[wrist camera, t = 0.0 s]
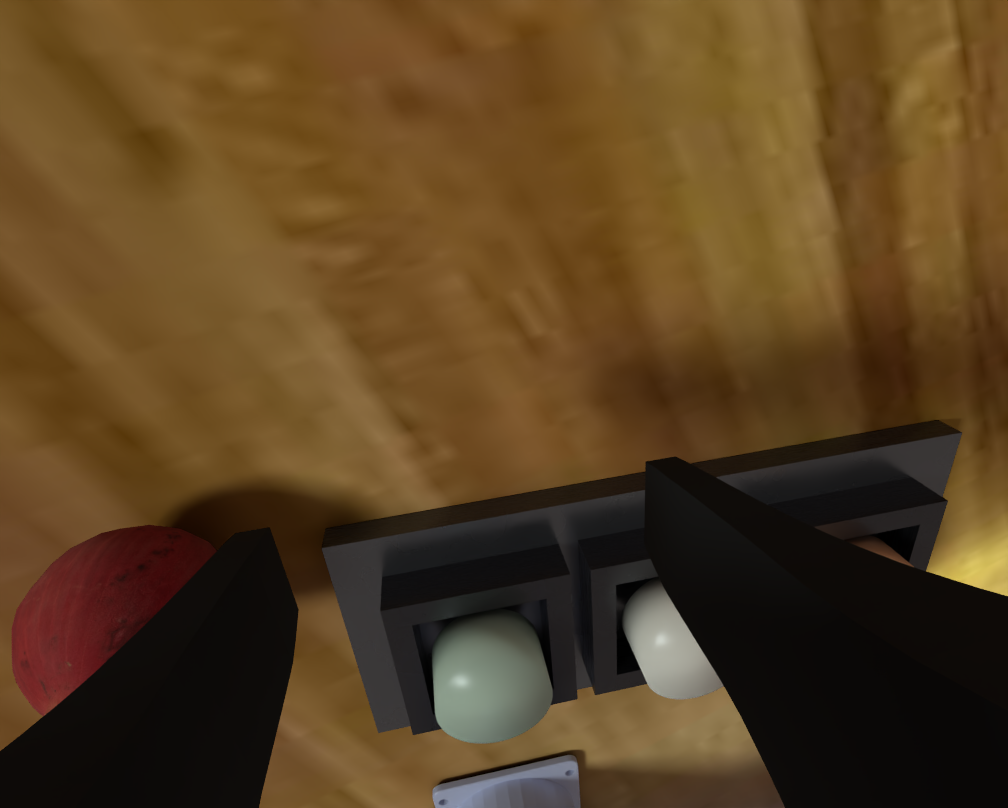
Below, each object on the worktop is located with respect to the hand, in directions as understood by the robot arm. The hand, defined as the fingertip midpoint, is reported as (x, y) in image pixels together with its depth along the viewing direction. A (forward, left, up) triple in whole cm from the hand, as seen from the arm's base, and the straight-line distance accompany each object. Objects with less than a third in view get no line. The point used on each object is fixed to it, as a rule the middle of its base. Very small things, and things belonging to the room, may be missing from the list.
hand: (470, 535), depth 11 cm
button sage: (-12, 0, -8) cm, 14 cm away
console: (-12, -8, -10) cm, 18 cm away
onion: (-6, +11, -10) cm, 16 cm away
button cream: (-12, -8, -8) cm, 16 cm away
